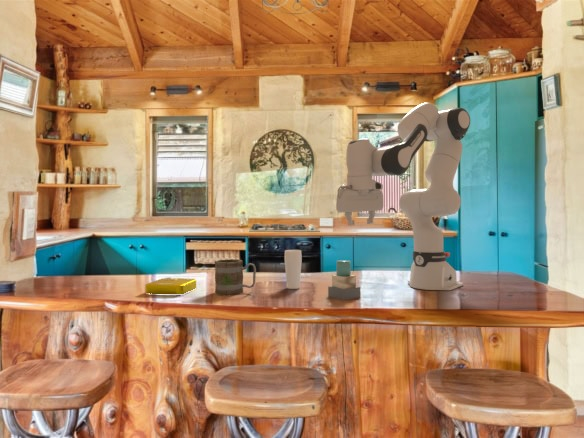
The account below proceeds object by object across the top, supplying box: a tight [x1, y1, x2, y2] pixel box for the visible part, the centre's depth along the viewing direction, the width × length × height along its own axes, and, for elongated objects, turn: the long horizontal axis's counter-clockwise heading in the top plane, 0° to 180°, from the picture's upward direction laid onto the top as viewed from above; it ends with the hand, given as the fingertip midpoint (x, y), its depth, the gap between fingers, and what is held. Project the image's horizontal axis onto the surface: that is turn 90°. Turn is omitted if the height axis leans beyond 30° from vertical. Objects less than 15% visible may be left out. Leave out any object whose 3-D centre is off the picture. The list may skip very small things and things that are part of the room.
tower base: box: [327, 285, 361, 301], centre depth 145 cm, size 8×8×4 cm
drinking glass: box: [284, 249, 303, 290], centre depth 161 cm, size 7×7×15 cm
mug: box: [214, 258, 257, 297], centre depth 154 cm, size 16×11×12 cm
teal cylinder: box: [335, 259, 352, 276], centre depth 145 cm, size 5×5×5 cm
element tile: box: [144, 277, 197, 294], centre depth 157 cm, size 15×15×5 cm
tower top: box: [331, 274, 357, 289], centre depth 145 cm, size 6×6×4 cm
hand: (360, 224), depth 143 cm, fingers open, 8 cm apart
